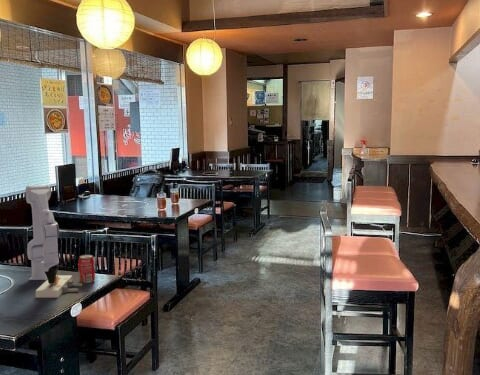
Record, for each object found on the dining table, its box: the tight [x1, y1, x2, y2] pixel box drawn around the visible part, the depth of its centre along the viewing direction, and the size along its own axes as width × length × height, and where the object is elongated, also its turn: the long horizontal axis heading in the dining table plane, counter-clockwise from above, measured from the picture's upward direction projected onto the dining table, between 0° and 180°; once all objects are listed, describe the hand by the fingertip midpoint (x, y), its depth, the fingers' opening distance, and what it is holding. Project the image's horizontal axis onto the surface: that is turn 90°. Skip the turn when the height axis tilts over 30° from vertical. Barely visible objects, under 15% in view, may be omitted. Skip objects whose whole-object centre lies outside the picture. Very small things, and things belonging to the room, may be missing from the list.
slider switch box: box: [35, 274, 73, 299], centre depth 200 cm, size 20×9×3 cm, turn 4°
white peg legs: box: [62, 280, 84, 294], centre depth 200 cm, size 9×6×2 cm, turn 4°
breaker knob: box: [49, 274, 59, 284], centre depth 198 cm, size 2×3×3 cm
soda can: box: [77, 254, 96, 284], centre depth 210 cm, size 7×7×12 cm
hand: (51, 282), depth 195 cm, fingers closed
